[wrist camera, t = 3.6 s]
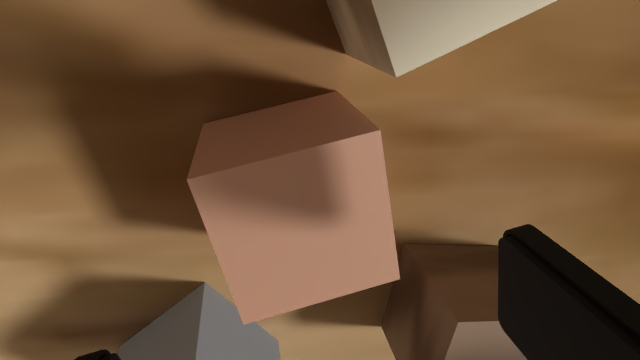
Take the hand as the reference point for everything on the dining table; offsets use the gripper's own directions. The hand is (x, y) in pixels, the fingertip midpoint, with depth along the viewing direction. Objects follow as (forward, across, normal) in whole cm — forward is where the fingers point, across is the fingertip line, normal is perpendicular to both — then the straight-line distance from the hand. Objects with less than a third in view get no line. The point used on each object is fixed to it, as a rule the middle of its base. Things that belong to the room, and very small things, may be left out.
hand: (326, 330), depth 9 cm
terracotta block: (+10, 0, 0) cm, 10 cm away
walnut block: (+10, -7, +10) cm, 16 cm away
